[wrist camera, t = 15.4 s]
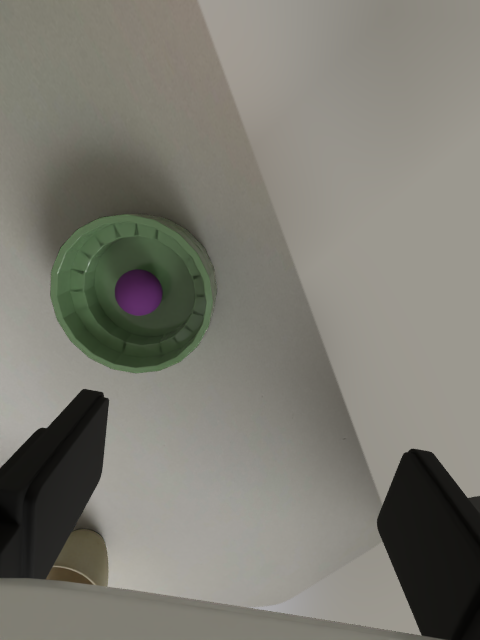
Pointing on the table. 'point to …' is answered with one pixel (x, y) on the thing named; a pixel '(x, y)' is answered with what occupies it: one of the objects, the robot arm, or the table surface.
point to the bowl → (99, 291)
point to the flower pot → (82, 560)
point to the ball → (138, 292)
